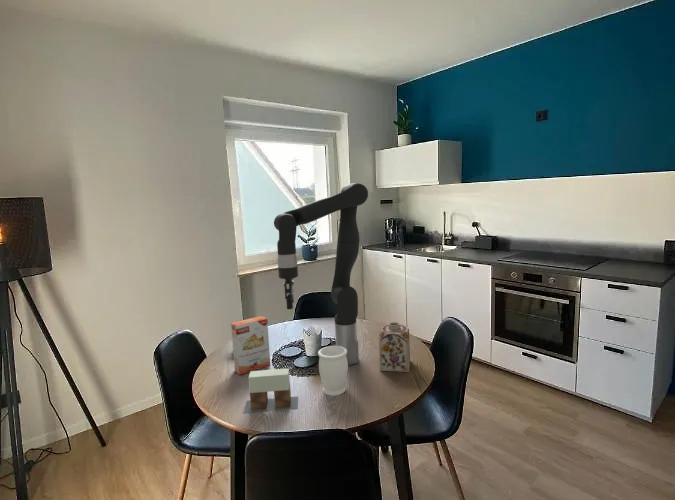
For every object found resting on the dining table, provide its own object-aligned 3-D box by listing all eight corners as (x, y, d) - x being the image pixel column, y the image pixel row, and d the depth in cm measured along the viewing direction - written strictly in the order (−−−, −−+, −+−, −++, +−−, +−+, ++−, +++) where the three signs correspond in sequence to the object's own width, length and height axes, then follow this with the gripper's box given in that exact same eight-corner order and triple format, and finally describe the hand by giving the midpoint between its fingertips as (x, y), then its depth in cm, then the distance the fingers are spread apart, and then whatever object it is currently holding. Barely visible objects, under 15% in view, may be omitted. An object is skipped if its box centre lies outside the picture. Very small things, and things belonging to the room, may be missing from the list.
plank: (289, 383, 130) (288, 368, 129) (289, 389, 126) (287, 374, 125) (251, 386, 129) (250, 371, 129) (249, 393, 125) (248, 377, 124)
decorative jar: (409, 373, 147) (408, 329, 145) (379, 371, 150) (378, 328, 147) (410, 360, 159) (409, 319, 156) (382, 358, 161) (381, 318, 159)
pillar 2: (291, 399, 131) (290, 383, 130) (290, 407, 126) (289, 390, 125) (276, 400, 131) (275, 384, 130) (275, 408, 126) (274, 391, 125)
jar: (339, 400, 130) (336, 359, 127) (314, 393, 135) (312, 353, 133) (354, 387, 138) (352, 348, 136) (330, 380, 144) (328, 343, 142)
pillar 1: (268, 401, 131) (266, 384, 130) (266, 408, 126) (265, 392, 125) (253, 402, 130) (252, 386, 130) (251, 410, 125) (249, 393, 125)
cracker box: (239, 375, 152) (235, 326, 149) (234, 370, 157) (230, 322, 154) (271, 365, 160) (267, 318, 157) (265, 361, 165) (261, 315, 162)
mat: (298, 397, 133) (298, 396, 133) (297, 409, 125) (297, 408, 125) (247, 401, 132) (246, 400, 132) (242, 414, 124) (242, 413, 124)
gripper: (296, 268, 139) (299, 310, 141) (298, 261, 153) (300, 300, 155) (276, 269, 138) (279, 311, 141) (279, 262, 152) (282, 301, 155)
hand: (290, 305), depth 148 cm, fingers open, 8 cm apart
